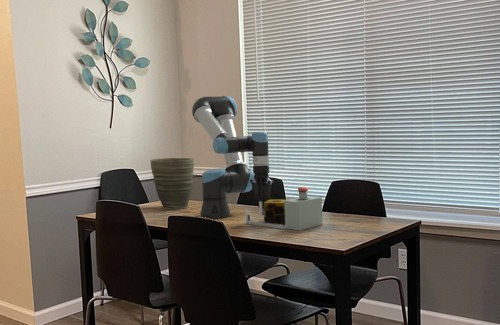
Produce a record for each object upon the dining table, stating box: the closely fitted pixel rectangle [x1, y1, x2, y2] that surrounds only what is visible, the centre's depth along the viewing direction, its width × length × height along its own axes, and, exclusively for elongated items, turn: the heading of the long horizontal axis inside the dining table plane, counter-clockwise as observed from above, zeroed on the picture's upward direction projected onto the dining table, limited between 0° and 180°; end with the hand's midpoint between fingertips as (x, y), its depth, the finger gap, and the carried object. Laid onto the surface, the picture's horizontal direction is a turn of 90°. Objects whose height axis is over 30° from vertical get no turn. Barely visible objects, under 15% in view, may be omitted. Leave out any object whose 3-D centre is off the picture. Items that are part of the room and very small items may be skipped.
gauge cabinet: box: [284, 195, 323, 231], centre depth 248 cm, size 9×16×12 cm, turn 136°
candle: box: [263, 199, 287, 225], centre depth 258 cm, size 10×10×10 cm
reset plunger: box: [297, 186, 309, 200], centre depth 247 cm, size 4×4×8 cm
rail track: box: [245, 214, 286, 230], centre depth 258 cm, size 22×19×4 cm
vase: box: [150, 157, 195, 211], centre depth 314 cm, size 25×24×30 cm
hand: (262, 215), depth 264 cm, fingers closed
